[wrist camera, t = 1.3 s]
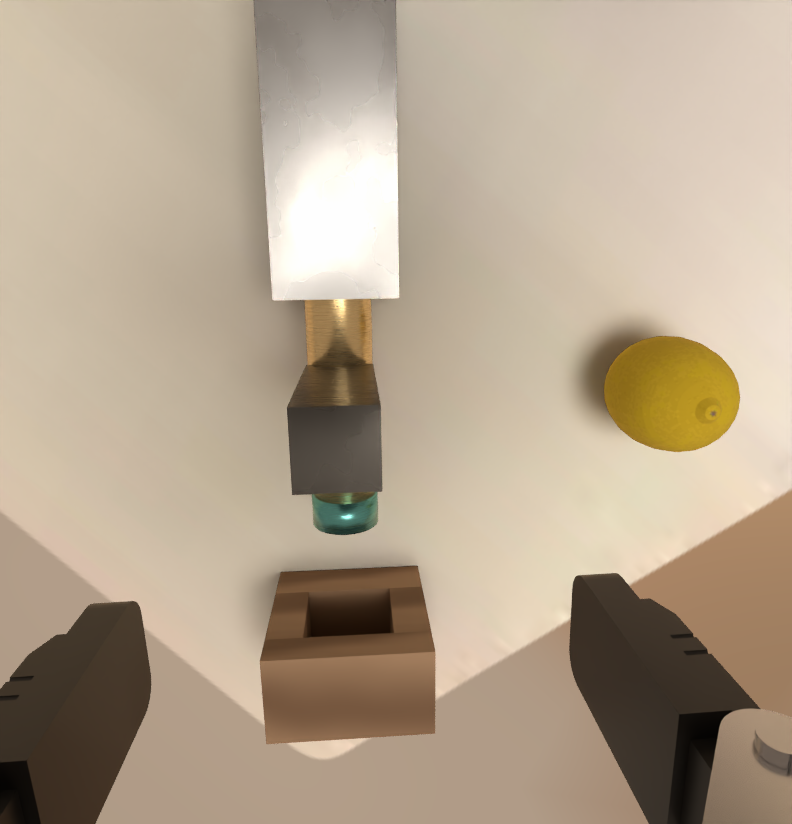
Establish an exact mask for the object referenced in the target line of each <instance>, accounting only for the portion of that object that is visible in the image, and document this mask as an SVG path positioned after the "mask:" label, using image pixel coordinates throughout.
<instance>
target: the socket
mask: <svg viewBox="0 0 792 824" xmlns="http://www.w3.org/2000/svg"><path fill="white" fill-rule="evenodd" d="M260 670H261V682H262V695H263V707H264V720H265V732H266V744H275V743H291V742H307V741H323V740H339V739H355V738H370V737H386V736H402V735H417V734H433V733H435V648H434V643H433V638H432V633H431V629H430V624H429V619H428V614H427V609H426V604H425V600H424V595H423V590H422V585H421V580H420V576H419V571H418V566H408V567H386V568H364V569H342V570H320V571H297V572H281V573H280V578H279V582H278V586H277V590H276V595H275V599H274V603H273V607H272V612H271V616H270V620H269V625H268V629H267V633H266V637H265V642H264V646H263V650H262V654H261V659H260Z"/></svg>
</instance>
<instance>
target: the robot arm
mask: <svg viewBox="0 0 792 824" xmlns="http://www.w3.org/2000/svg"><path fill="white" fill-rule="evenodd" d="M569 647H570V649H569V651H570V661H571V667H572V671H573V675H574V678H575V681H576V683H577V686H578V687H579V690H580V691H581V693H582V695H583V697H584V699H585V701H586V703H587V705H588V707H589V709H590V711H591V713H592V714H593V717H594V718H595V720H596V722H597V724H598V726H599V728H600V730H601V732H602V734H603V736H604V738H605V740H606V742H607V744H608V746H609V747H610V749H611V751H612V753H613V755H614V757H615V759H616V761H617V763H618V765H619V767H620V769H621V770H622V773H623V774H624V776H625V778H626V780H627V782H628V784H629V786H630V788H631V790H632V792H633V794H634V796H635V798H636V800H637V801H638V803H639V805H640V807H641V809H642V811H643V813H644V815H645V817H646V819H647V821H648V823H649V824H792V718H791V717H788V716H785V715H783V714H779V713H776V712H773V711H768V710H762V709H760V708H759V707H758V706H757V704H755V702H754V701H753V700H752V699H751V698H750V697H749V696H748V694H746V692H745V691H744V690H743V689H742V688H741V687H740V686H739V684H738V683H737V682H736V681H735V680H734V679H733V678H732V677H731V675H730V674H729V673H728V672H727V671H726V670H725V669H724V668H723V666H721V664H720V663H719V662H718V661H717V660H716V659H715V658H714V656H713V655H712V654H708V652H707V649H706V647H705V646H704V645H703V644H702V643H701V642H700V641H699V640H698V639H697V638H696V637H693V633H692V632H691V631H690V630H689V629H688V627H687V626H686V625H684V623H683V622H682V621H681V620H680V618H679V617H678V616H677V615H676V614H674V613H673V612H671V611H670V610H668V609H666V608H664V607H663V606H661V605H660V604H658V603H656V602H655V601H653V600H651V599H639V597H638V596H637V595H636V594H635V593H634V591H633V590H632V589H631V588H630V587H629V585H628V584H627V583H626V582H625V581H624V579H623V578H622V577H621V576H620V575H619V574H617V573H611V574H594V575H578V576H576V577H575V579H574V582H573V589H572V608H571V627H570V646H569ZM150 693H151V673H150V666H149V660H148V653H147V647H146V640H145V634H144V627H143V621H142V614H141V610H140V607H139V605H138V604H137V602H135V601H129V602H112V603H96V604H90V605H89V606H88V607H87V608H86V609H85V610H84V612H83V613H82V614H81V616H80V617H79V618H78V620H77V621H76V622H75V623H74V625H73V626H72V627H71V629H70V630H69V631H68V633H67V634H62V635H56V636H54V637H53V638H51V639H50V640H49V641H47V642H46V643H44V644H43V645H42V646H40V647H39V648H37V649H36V650H35V651H33V652H32V653H30V654H29V655H28V656H27V657H26V658H25V660H24V661H23V662H22V663H21V665H20V666H19V667H18V668H17V669H16V671H15V672H14V673H13V674H12V676H11V677H10V681H9V682H6V683H5V684H4V685H3V687H2V688H1V689H0V824H95V823H96V821H97V819H98V816H99V814H100V812H101V810H102V808H103V806H104V803H105V801H106V799H107V797H108V795H109V792H110V790H111V788H112V786H113V784H114V782H115V779H116V777H117V775H118V773H119V771H120V768H121V766H122V764H123V762H124V760H125V757H126V755H127V753H128V751H129V749H130V747H131V744H132V742H133V740H134V738H135V736H136V734H137V731H138V729H139V727H140V725H141V722H142V720H143V718H144V716H145V714H146V711H147V708H148V704H149V700H150Z"/></svg>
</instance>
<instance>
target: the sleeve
mask: <svg viewBox="0 0 792 824" xmlns="http://www.w3.org/2000/svg"><path fill="white" fill-rule="evenodd" d="M254 15H255V31H256V47H257V63H258V79H259V95H260V111H261V127H262V143H263V159H264V175H265V191H266V207H267V223H268V238H269V254H270V270H271V286H272V300H326V299H385V298H399V246H398V156H397V67H396V0H254Z"/></svg>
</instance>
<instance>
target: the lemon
mask: <svg viewBox="0 0 792 824" xmlns="http://www.w3.org/2000/svg"><path fill="white" fill-rule="evenodd" d="M604 397H605V403H606V406H607V409H608V412H609V414H610V416H611V417H612V418H613V420H614V421H615V423H616V424H617V426H618V427H619V428H620V429H621V430H622V431H623V432H625V433H626V434H627V435H628V436H629V437H631V438H632V439H633V440H635V441H637V442H640V443H642V444H644V445H646V446H649V447H651V448H655V449H659V450H666V451H673V452H682V451H692V450H696V449H699V448H702V447H705V446H707V445H709V444H711V443H712V442H714V441H716V440H717V439H719V438H720V437H721V436H722V435H723V434H724V433H725V432H726V431H727V430H728V429H729V427H730V426H731V424H732V423H733V421H734V420H735V417H736V414H737V412H738V409H739V402H740V394H739V386H738V382H737V380H736V378H735V375H734V373H733V371H732V370H731V368H730V367H729V366H728V365H727V363H726V362H725V361H724V360H723V359H722V358H721V357H720V356H719V355H718V354H716V353H715V352H713V351H712V350H710V349H709V348H707V347H706V346H704V345H702V344H700V343H698V342H695V341H692V340H688V339H685V338H682V337H670V336H658V337H653V338H649V339H644V340H641V341H639V342H637V343H635V344H633V345H631V346H629V347H628V348H627V349H625V350H624V351H623V352H622V353H620V354H619V355H618V356H617V358H616V359H615V360H614V362H613V363H612V364H611V366H610V368H609V370H608V373H607V375H606V379H605V384H604Z"/></svg>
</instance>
